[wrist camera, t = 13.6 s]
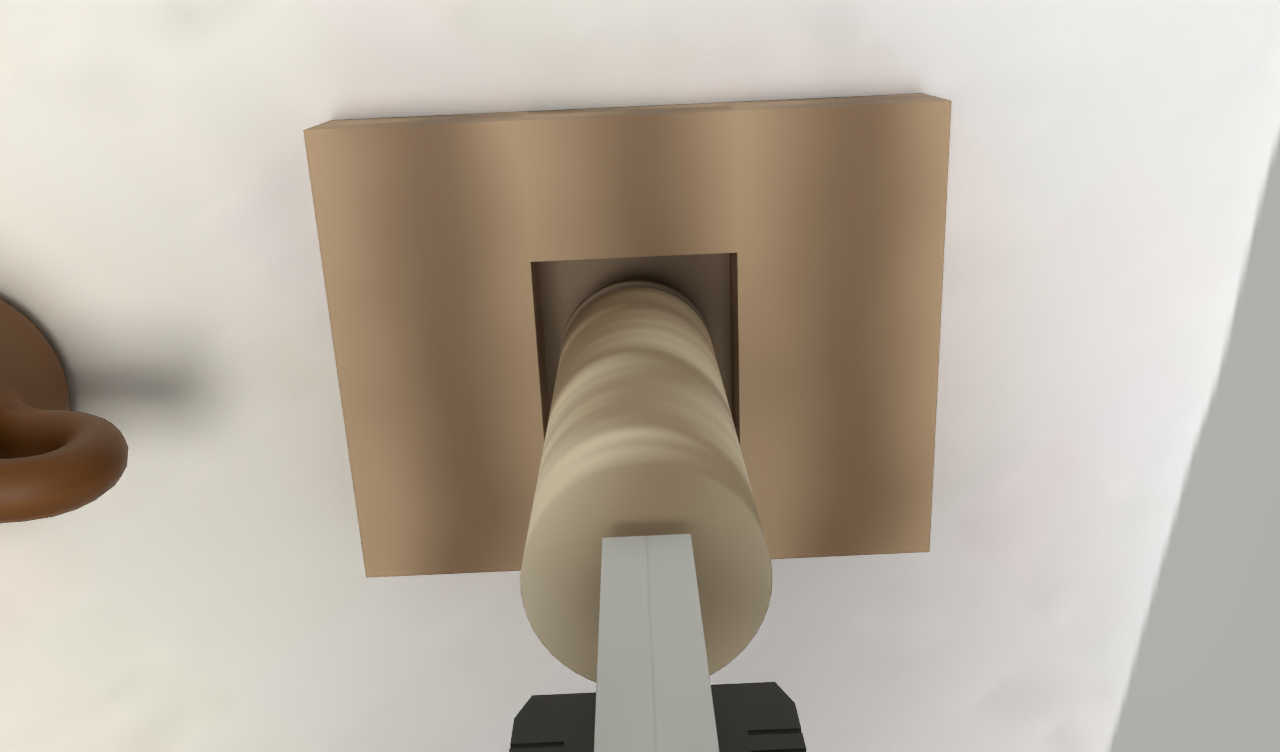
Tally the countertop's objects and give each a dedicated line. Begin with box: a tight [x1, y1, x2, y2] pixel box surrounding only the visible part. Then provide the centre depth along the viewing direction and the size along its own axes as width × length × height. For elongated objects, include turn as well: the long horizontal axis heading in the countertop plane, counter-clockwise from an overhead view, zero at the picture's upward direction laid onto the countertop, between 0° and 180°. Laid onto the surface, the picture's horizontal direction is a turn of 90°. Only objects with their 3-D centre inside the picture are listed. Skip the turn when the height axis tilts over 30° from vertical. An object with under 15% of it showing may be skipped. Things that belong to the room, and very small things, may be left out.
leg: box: [521, 278, 772, 682], centre depth 27 cm, size 5×5×16 cm
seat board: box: [303, 94, 951, 578], centre depth 33 cm, size 18×14×3 cm
